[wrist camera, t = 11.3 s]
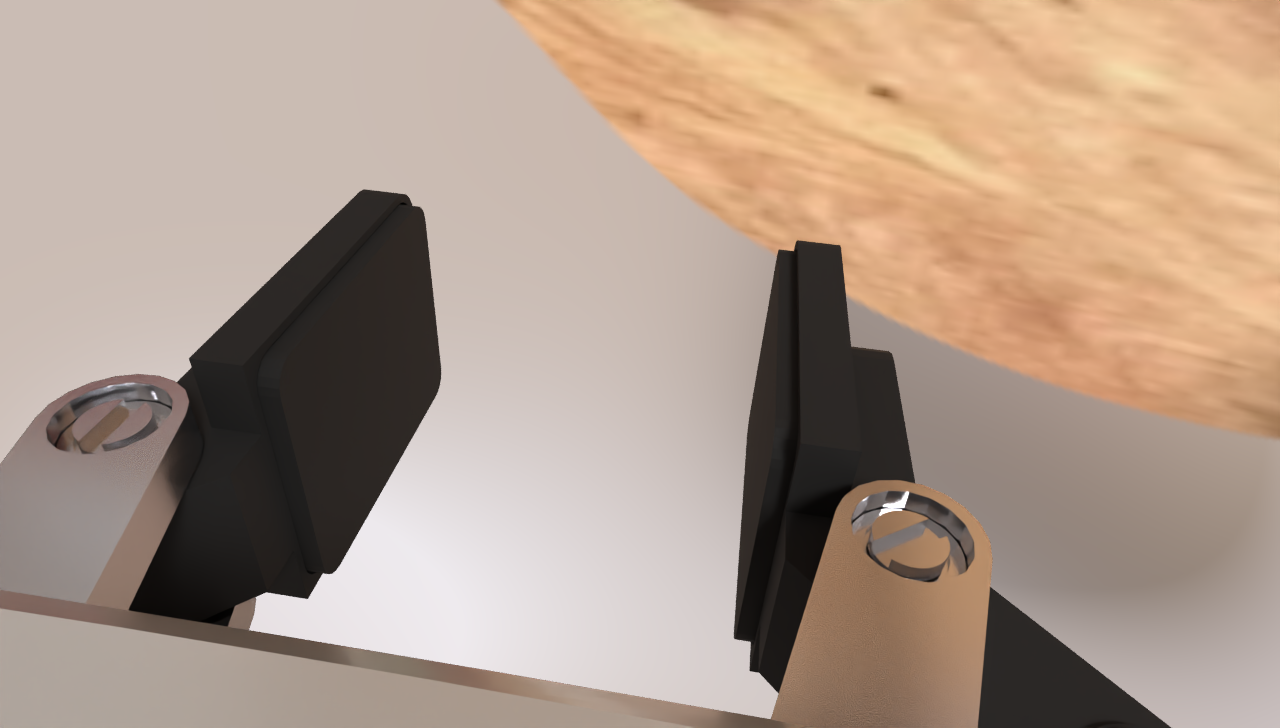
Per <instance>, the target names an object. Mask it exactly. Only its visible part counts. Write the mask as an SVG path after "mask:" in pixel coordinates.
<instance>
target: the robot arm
mask: <svg viewBox="0 0 1280 728" xmlns="http://www.w3.org/2000/svg"><path fill="white" fill-rule="evenodd" d="M847 313H848V312H847V302H846V293H845V283H844V273H843V263H842V254H841V247H840V245H832V244H823V243H815V242H806V241H797V242H796V245H795V249H794V251H787V250H779V251H778V255H777V260H776V266H775V271H774V278H773V283H772V289H771V294H770V300H769V306H768V312H767V318H766V323H765V329H764V336H763V341H762V347H761V353H760V359H759V364H758V370H757V376H756V381H755V387H754V393H753V399H752V405H751V410H750V417H749V424H748V433H747V446H746V460H745V475H744V491H743V505H742V520H741V536H740V550H739V565H738V580H737V595H736V596H737V597H736V610H735V625H734V639H737V640H743V641H750V642H751V652H750V671H753V672H759V673H760V674H761V675H762V676H763V677H764V678H765V679H766V680H767V682H768V683H769V684H770V685H771V686H772V687H773V688H774V689H775V690H776V691H777V692H778V693H779V695H778V698H777V701H776V704H775V707H774V711H773V714H772V717H771V719H765V718H759V717H754V716H748V715H742V714H737V713H730V712H725V711H719V710H714V709H707V708H702V707H696V706H691V705H685V704H679V703H673V702H667V701H662V700H656V699H650V698H644V697H639V696H632V695H627V694H621V693H615V692H609V691H604V690H598V689H592V688H587V687H581V686H575V685H569V684H564V683H557V682H551V681H546V680H540V679H535V678H529V677H523V676H517V675H511V674H505V673H500V672H494V671H488V670H482V669H476V668H470V667H464V666H459V665H452V664H447V663H440V662H434V661H429V660H423V659H417V658H410V657H405V656H399V655H393V654H387V653H381V652H376V651H370V650H364V649H357V648H352V647H346V646H340V645H334V644H327V643H322V642H315V641H310V640H304V639H298V638H292V637H286V636H280V635H274V634H268V633H261V632H256V631H249V628H250V625H251V622H252V619H253V616H254V611H255V603H256V598H255V597H257V596H259V595H261V594H263V593H266V592H268V593H275V594H280V595H286V596H293V597H299V598H305V599H308V598H309V596H310V594H311V592H312V591H313V589H314V587H315V586H316V584H317V582H318V580H319V579H320V577H321V575H322V574H323V573H325V574H332V573H333V572H335V571H336V570H337V568H338V567H339V565H340V564H341V562H342V560H343V559H344V557H345V555H346V553H347V552H348V550H349V548H350V546H351V544H352V543H353V541H354V539H355V537H356V536H357V534H358V532H359V530H360V529H361V527H362V525H363V523H364V521H365V520H366V518H367V516H368V515H369V513H370V511H371V509H372V508H373V506H374V504H375V502H376V500H377V498H378V497H379V495H380V493H381V492H382V490H383V488H384V486H385V485H386V483H387V481H388V479H389V477H390V476H391V474H392V472H393V471H394V469H395V467H396V465H397V464H398V462H399V460H400V458H401V456H402V455H403V453H404V451H405V449H406V448H407V446H408V444H409V442H410V441H411V439H412V437H413V435H414V434H415V432H416V430H417V428H418V427H419V424H420V423H421V421H422V419H423V418H424V416H425V414H426V413H427V410H428V409H429V407H430V405H431V404H432V402H433V400H434V398H435V396H436V395H437V392H438V389H439V386H440V380H441V363H440V355H439V346H438V335H437V326H436V316H435V307H434V297H433V288H432V279H431V269H430V260H429V250H428V241H427V231H426V222H425V216H424V212H423V210H422V209H421V208H420V207H416V206H412V203H411V201H410V198H409V197H408V196H407V195H405V194H398V193H389V192H381V191H372V190H362V191H360V192H359V193H358V194H357V195H356V196H355V197H354V198H353V199H352V200H351V201H350V202H349V203H348V204H347V205H346V206H345V207H344V208H343V209H342V210H340V211H339V212H338V213H337V214H336V215H335V216H334V217H333V218H332V219H331V220H330V221H329V222H328V223H327V224H326V225H325V226H324V227H323V228H322V229H321V230H320V231H319V232H318V233H317V234H316V235H315V236H314V237H313V238H312V239H311V240H310V241H309V242H308V243H307V244H306V245H305V246H304V247H303V248H302V249H301V250H299V252H297V253H296V254H295V255H294V256H293V257H292V258H291V259H290V260H289V261H288V262H287V263H286V264H285V265H284V266H283V267H282V268H281V269H280V270H279V271H278V272H277V273H276V274H275V275H274V276H273V277H272V278H271V279H270V280H269V281H268V282H267V283H266V284H265V285H264V286H263V287H262V288H261V289H260V290H259V291H257V293H256V294H254V295H253V296H252V297H251V298H250V299H249V300H248V301H247V302H246V303H245V304H244V305H243V306H242V307H241V308H240V309H239V310H238V311H237V312H236V313H235V314H234V315H233V316H232V317H231V318H230V319H229V320H228V321H227V322H226V323H225V324H224V325H223V326H222V327H221V328H220V329H219V330H218V331H216V332H215V334H213V335H212V336H211V338H209V339H208V340H207V341H206V342H205V343H204V344H203V345H202V346H201V347H200V348H199V349H198V350H197V351H196V352H195V353H194V354H193V355H192V356H191V357H190V358H189V360H190V363H191V366H192V368H191V369H190V370H189V371H188V372H187V373H186V374H185V375H184V376H183V377H182V378H181V379H180V380H179V381H178V382H175V381H173V380H170V379H167V378H164V377H161V376H156V375H143V374H134V375H124V376H115V377H111V378H107V379H103V380H99V381H95V382H91V383H89V384H86V385H84V386H81V387H79V388H77V389H74V390H72V391H69V392H68V393H66V394H64V395H63V396H62V397H60V398H58V399H57V400H55V401H53V402H52V403H50V404H49V405H48V406H47V407H46V408H45V409H44V410H43V411H42V412H41V413H40V414H39V415H38V416H37V417H35V419H34V420H33V421H32V423H31V424H30V425H29V427H28V428H27V429H26V431H25V432H24V433H23V435H22V436H21V437H20V438H19V440H18V441H17V442H16V444H15V445H14V446H13V448H12V449H11V451H10V452H9V453H8V454H7V456H6V457H5V458H4V460H3V461H2V462H1V464H0V728H1171V727H1169V726H1168V725H1167V724H1166V723H1165V722H1163V721H1162V720H1161V719H1159V718H1158V717H1157V716H1155V715H1154V714H1153V713H1152V712H1150V711H1149V710H1148V709H1147V708H1145V707H1144V706H1143V705H1141V704H1140V703H1139V702H1138V701H1136V700H1135V699H1134V698H1132V697H1131V696H1130V695H1128V694H1127V693H1126V692H1125V691H1123V690H1122V689H1121V688H1119V687H1118V686H1117V685H1116V684H1114V683H1113V682H1112V681H1111V680H1109V679H1108V678H1106V677H1105V676H1104V675H1103V674H1101V673H1100V672H1099V671H1098V670H1096V669H1095V668H1094V667H1093V666H1091V665H1090V664H1089V663H1087V662H1086V661H1085V660H1084V659H1082V658H1081V657H1080V656H1078V655H1077V654H1076V653H1075V652H1073V651H1072V650H1070V649H1069V648H1068V647H1067V646H1066V645H1064V644H1063V643H1062V642H1060V641H1059V640H1058V639H1056V638H1055V637H1054V636H1053V635H1051V634H1050V633H1049V632H1048V631H1046V630H1045V629H1044V628H1042V627H1041V626H1040V625H1038V624H1037V623H1036V622H1035V621H1033V620H1032V619H1031V618H1029V617H1028V616H1027V615H1026V614H1024V613H1023V612H1022V611H1020V610H1019V609H1018V608H1016V607H1015V606H1014V605H1013V604H1011V603H1010V602H1009V601H1008V600H1006V599H1005V598H1004V597H1002V596H1001V595H1000V594H999V593H997V592H996V591H995V590H993V589H992V588H991V587H990V581H991V570H992V553H991V545H990V541H989V539H988V537H987V535H986V533H985V531H984V530H983V528H982V526H981V524H980V523H979V522H978V521H977V520H976V519H975V518H974V517H973V515H972V514H971V513H969V511H968V510H967V509H966V508H965V507H963V506H962V505H960V504H959V503H957V502H956V501H954V500H953V499H951V498H950V497H948V496H947V495H945V494H943V493H941V492H938V491H936V490H934V489H931V488H929V487H926V486H924V485H920V484H916V483H915V479H914V474H913V468H912V462H911V456H910V451H909V445H908V439H907V434H906V428H905V422H904V416H903V410H902V404H901V399H900V393H899V387H898V381H897V376H896V370H895V364H894V360H893V356H892V353H890V352H889V351H881V350H874V349H866V348H858V347H851V342H850V332H849V322H848V314H847Z"/></svg>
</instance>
